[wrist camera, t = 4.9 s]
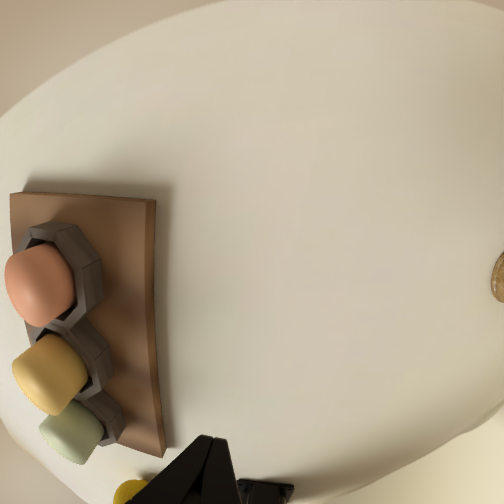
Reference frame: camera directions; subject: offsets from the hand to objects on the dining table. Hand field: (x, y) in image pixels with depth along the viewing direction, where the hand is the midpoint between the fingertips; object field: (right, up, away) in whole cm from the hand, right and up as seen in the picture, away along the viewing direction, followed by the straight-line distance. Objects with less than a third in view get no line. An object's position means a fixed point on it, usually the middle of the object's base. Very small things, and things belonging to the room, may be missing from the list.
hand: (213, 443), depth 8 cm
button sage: (-15, -9, +13) cm, 21 cm away
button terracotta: (-13, +4, +11) cm, 17 cm away
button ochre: (-14, -3, +11) cm, 18 cm away
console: (-13, -2, +14) cm, 20 cm away
